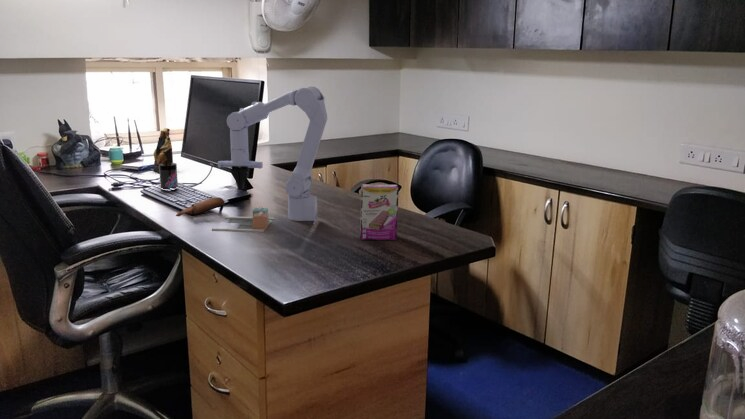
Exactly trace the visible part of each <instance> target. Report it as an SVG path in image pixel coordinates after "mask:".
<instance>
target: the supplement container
mask: <svg viewBox="0 0 745 419" xmlns="http://www.w3.org/2000/svg"><path fill="white" fill-rule="evenodd" d="M177 166H178V165H177V163H175V162H173V163H162V164H159V171H160V173H159V183H160V184H159V186H160V189H161V188H163V189H170V188H176V187H178V188H179V184H178V183H179V182H178V167H177Z"/></svg>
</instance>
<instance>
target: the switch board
mask: <svg viewBox="0 0 745 419" xmlns="http://www.w3.org/2000/svg"><path fill="white" fill-rule="evenodd" d="M224 219H229V220H228V221H227V223H228V224H231V223H232V224H240V225H239V226H238V227H237V228H225V227H224V228H223V227H219V228H218V227H211V231H212V232H213V231H219V232H249V233H250V232H251V233H264V232H265V230H266V229H253V216H230V215H228V216H224ZM274 220H275V217H269V225H270V224H271V222H273V221H274Z"/></svg>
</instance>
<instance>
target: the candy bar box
mask: <svg viewBox="0 0 745 419" xmlns="http://www.w3.org/2000/svg"><path fill="white" fill-rule="evenodd" d="M360 187H361V189H360V218H359V219H360V222H359V223H360V224H359V226H360V227H359V228H360V229H359V238H360V240H361V241H375V240H376V241H397V236H398V235H397V233H398V212H399V211H398V210H399V209H398V207H399V186H398V184H371V183H370V184H368V183H367V184H366V183H363V184H361V186H360Z"/></svg>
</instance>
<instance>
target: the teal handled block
mask: <svg viewBox="0 0 745 419" xmlns="http://www.w3.org/2000/svg"><path fill="white" fill-rule="evenodd" d="M260 212H263V213H268V214H269V208H268V207H264V206H259V207H255V208H254V209H253V210H252V216H253V215H254V214H255V213H260Z"/></svg>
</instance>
